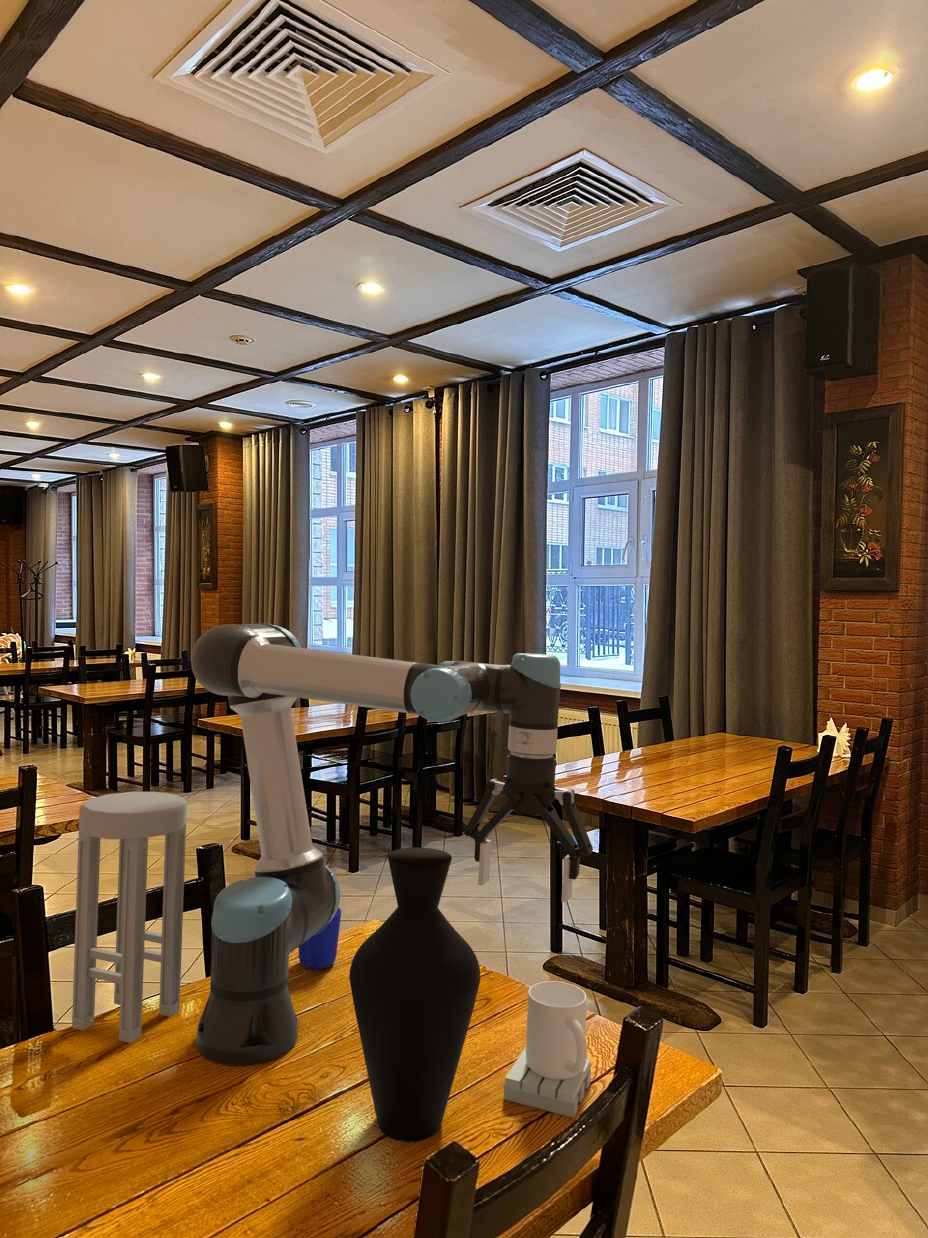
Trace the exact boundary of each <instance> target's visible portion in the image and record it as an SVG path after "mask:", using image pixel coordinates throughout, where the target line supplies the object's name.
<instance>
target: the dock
mask: <svg viewBox="0 0 928 1238" xmlns="http://www.w3.org/2000/svg"><path fill="white" fill-rule="evenodd" d="M591 1077H592V1069H591V1059H590V1058H587V1060H586V1065H585V1067H584V1069H583V1071H582V1072H581V1073H579V1074H578V1075H577V1076H575V1077H573V1078H570V1079H566V1080H552V1079H547V1078H544V1077H541V1076H539V1075H537V1074H535V1073H534V1072H533V1071H532V1070H531V1069H530V1068H529V1067H528V1065H527V1062H526V1046H525V1047H524V1048H523V1049H522V1052H521V1053H520V1054H519V1056H518V1057H517V1059H516V1061H515V1062H514V1064H513V1065H512V1067H511V1068H510V1070H509V1071H508V1072H507V1074H506V1075H505V1077H504V1085H503V1100H505V1101H508V1102H513V1103H517V1104H519V1105H520V1104H521V1105H525V1106H529V1107H532V1108H535V1109H539V1110H543V1111H546V1112H551V1113H554V1114H558V1115H561V1116H565V1117H568V1118H569V1117H570V1118H572V1119H574V1118H575V1117H576V1115H577V1113H578V1106H579V1105H578V1104H581V1103H582V1101H583V1099H584V1097H585V1090H588V1089H589V1087H590V1085H591V1082H592V1080H591V1079H592V1078H591Z"/></svg>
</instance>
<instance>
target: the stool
mask: <svg viewBox="0 0 928 1238" xmlns="http://www.w3.org/2000/svg"><path fill="white" fill-rule="evenodd" d="M187 809H188V803H187V800H186V799H185V798H184V797H182V796H180V795H177V794H175V793H174V794H173V793H167V792H160V791H126V792H118V793H117V792H116V793H115V792H114V793H108V794H103V795H100V796H95V797H91V798H88V799H87V800H86V801H85V802H84V803H83V804H81V805H80V807H79V812H78V815H79V816H78V838H77V839H78V841H77V842H78V843H77V845H78V846H77V865H76V866H77V870H76V871H77V872H76V899H75V900H76V901H75V926H74V928H75V930H74V931H75V932H74V955H73V956H74V957H73V960H74V961H73V984H72V987H73V989H72V1012H71V1013H72V1014H71V1028H72V1027H73V1026H76V1025H79V1026H76V1027H73V1028H72V1029H75V1030H77V1031H78V1030H79V1031H82V1032H83V1031H85V1030H87V1029H88V1028H90V1027H92V1026H93V1025H94V1026H95V1007H96V1004H95V1003H96V981H97V980H100V981H104V982H109V983H114V989H113V990H114V992H113V995H114V996H113V1004H115V1005H118V1006H119V1027H118V1028H119V1029H118V1030H119V1032H118V1040H119V1041H121V1042H125V1043H128V1044H132V1043H133V1042H134V1041H136V1040H138V1039H140V1037H142V1026H143V1025H142V1024H143V1023H142V1022H143V1019H142V1018H143V994H144V989H143V988H144V967H145V966H144V961H145V960H148V961H152V962H157V963H160V975H159V976H160V978H159V979H160V980H159V1005H158V1006H159V1008H158V1015H161V1016H164V1017H168V1018H170V1017H173V1016H174V1015H175V1014H177V1013H178V1012H180V1010H181V1009H180V1005H181V1004H180V1003H181V982H182V981H181V980H182V979H181V976H182V975H181V974H182V952H183V951H182V948H183V919H184V895H185V894H184V892H185V891H184V890H185V865H186V864H185V863H186V841H187V840H186V835H187V834H186V833H187ZM160 836H165V837H164V838H165V839H164V862H163V863H164V868H163V869H164V870H163V891H162V893H163V894H162V896H163V897H162V917H161V918H162V922H161V923H162V924H161V933H159V932H154V931H148V930H146V911H147V910H146V906H147V882H148V881H147V879H148V856H149V855H148V854H149V853H148V851H149V849H148V848H149V838H154V837H160ZM101 839H104V840H105V839H106V840H119V843H118V844H119V847H118V848H119V849H118V850H119V851H118V871H117V872H118V876H117V877H118V878H117V879H118V880H117V904H116V905H117V906H116V931H115V934H116V935H115V936H116V937H115V951H113V950H112V951H111V950H107V949H103V948H102V949H101V948H97V947H98V946H97V945H98V921H99V920H98V919H99V891H100V889H99V888H100V887H99V886H100V864H101V863H100V862H101V861H100V860H101ZM145 941H146V942H150V943H156V944H161V945H160V946H161V952H159V951H156V950H151V949H145ZM97 960H101V961H105V962H108V963H109V962H110V963H113V964H115V965H114V971H111V970H107V969H102V968H99V967H97ZM96 979H97V980H96ZM92 1019H94V1020H92ZM89 1020H92V1021H89Z"/></svg>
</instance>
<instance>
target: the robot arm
mask: <svg viewBox="0 0 928 1238" xmlns="http://www.w3.org/2000/svg"><path fill="white" fill-rule="evenodd" d="M190 660H191V661H190V664H191V670H192V673H193V675H194V677H195V679H196V681H197V682H198V683H199V685H200V686H201V687H203V689H205V690H206V691H208V692H210V693H212V694H215V695H218V696H227V697H228V704H229V708H230V709H231V710H233V711H234V712H235V713H237V714H238V716H239V717H240V721H241V727H242V734H243V736H242V737H243V742H244V748H245V757H246V762H247V763H246V764H247V768H248V774H249V775H248V776H249V780H250V781H249V782H250V788H251V795H252V802H253V808H254V815H255V820H256V826H257V827H256V828H257V834H258V841H259V842H258V843H259V848H260V849H259V850H260V855H261V856H260V858H259V860H258V861H257V862H256V864H255V865H254V867H253V869H254V877H249V878H248V879H246V880H244V879H240V880H238V881H235V882H232V883H230V884H229V885H227V886H225V887H224V888H223V889H222V890H221V891H220V892H219V893H218V894H217V896H216V898H215V900H214V904H213V911H212V915H211V922H210V924H211V952H210V953H211V955H210V956H211V957H210V959H211V960H210V989H209V995H208V996H207V1000H206V1003H205V1006H204V1009H203V1011H202V1013H201V1016H200V1019H199V1021H198V1024H197V1029H196V1041H195V1044H196V1045H195V1046H196V1050H197V1051H198V1053H199V1054H200V1055H201V1056H202V1057H203V1058H205V1059H206V1060H209V1061H211V1062H214V1063H216V1064H220V1065H221V1064H222V1065H228V1066H248V1065H256V1064H261V1063H266V1062H268V1061H271V1060H274V1059H276V1058H278V1057H281V1056H283V1055H285V1054H286V1053H287V1052H289V1051H290V1050H291V1049H292V1048H294V1045H295V1044H297V1043H296V1042H297V1041H298V1033H299V1032H298V1029H299V1024H298V1017H297V1015H296V1014H295V1013H296V1012H295V1009H294V1005H293V1001H292V997H291V994H290V991H289V986H288V985H289V983H288V982H289V967H290V966H289V965H290V963H289V961H290V953H291V954H292V952H294V951H295V950H297V948H298V947H299V946H300V945H302V944H303V943H304V942H306V941H307V940H309V939H310V938H311V937H313V936H315V935H317V934H318V933H320V932H321V931H322V930H323V929H324V928H325V927H326V925H327V924H328V923H329V922H330V921H331V920H332V919H333V917H334V916H335V914H336V912H337V910H338V907H339V906H340V902H341V887H340V883H339V880H338V878H337V876H336V874H335V872H334V871H332V870H330V869H329V866H328V865H327V864H326V863H325V859H324V854H323V852H322V851H320V849H318V848H317V847H316V846H314V844H313V840H312V834H311V828H310V822H309V815H308V808H307V803H306V796H305V789H304V784H303V777H302V770H301V764H300V757H299V752H298V751H299V750H298V744H297V737H296V732H295V731H296V730H295V724H294V718H293V710H292V706H293V705H294V703H295V702H296V700H297V699H298V698H300V699H306V700H313V701H320V702H325V703H336V704H341V705H348V706H349V705H350V706H357V707H364V708H371V709H378V710H383V711H384V710H385V711H391V712H398V713H405V714H406V713H407V714H412V715H415V716H420V717H421V718H423V719H425V720H427V721H430V722H436V723H437V722H442V723H443V722H444V723H446V722H451V721H454V720H456V719H458V718H460V717H461V716H464V715H468V714H470V713H474V712H488V713H489V712H490V713H500V714H508V715H509V722H508V741H507V750H509V752H510V753H508V755H507V756H506V757H507V758H506V773H505V777H506V779H505V782H502V781H499V780H498V779H497V778H493V779H490V780H488V781H486V783H485V788H484V795H483V796H482V798H481V800H480V802H479V804H478V805H477V807H476V809H475V811H474V813H473V814H472V816H471V818H470V820H469V822H468V823H467V825H466V826H465V828H464V831H463V834H464V836H465V837H470V838H471V839H473V840H474V862H476V863H477V862H478V865H479V867H478V879H477V880H478V882H477V885H478V886H484V885H485V884H486V883H488V882H489V881H490V874H491V872H490V871H491V870H490V869H491V852H492V840H491V839H486V838H489V835H490V834H492V832H494V831H495V829H496V828H498V826H499V825H500V824H502V822H503V821H504V820H505V819H506V818H507V817H508V816H509V815H510V814H511V813H512V812H515V813H516V814H517V815H529V816H530V817H538V816H540V817H541V819H542V820H543V821H544V822H545V823H546V824H547V825H548V827H549V828H550V829H551V831H552V833H553V834H554V836H555V837H556V839H557V840H558V841H559V843H560V845H561V846H562V847H563V849H564V851H565V852H566V853H567V855H566V856H564V857H563V865H562V867H563V869H562V887H561V888H562V889H561V902H563V903H567V902H568V901H569V900H570V899H571V898H572V895H573V894H572V893H573V880H576V879H578V877H579V875H580V867H581V866H580V864H581V863H580V862H581V857H588V856H589V855H590V854H591V853H592V852H593V850H594V847H593V844H592V842H591V840H590V837H589V835H588V832H587V830H586V827H585V825H584V822H583V820H582V816H581V814H580V813H579V809H578V808H577V805H576V793H575V790H574V789H573V788H572V789H571V788H569V789H568V790H557V789H556V785H555V782H556V780H555V779H556V766H557V765H556V762H557V759H556V758H555V756H554V755H555V754H556V753H557V748H558V747H557V746H558V726H559V724H558V723H559V708H560V698H561V697H560V694H561V688H562V684H561V662H560V659H559V658H558V657H557V656H555V655H553V654H552V655H551V654H545V653H529V652H528V653H527V652H525V653H523V652H522V653H521V652H520V653H515V654H514V655H513V656H512V662H510V664H492V663H486V662H485V663H484V662H481V663H480V662H473V661H472V662H471V661H466V660H452V661H451V660H446V661H445V660H444V661H442V662H441V663H439V664H433V663H431V664H430V663H422V662H421V663H420V662H415V661H414V662H413V661H406V660H397V659H392V658H384V657H383V658H382V657H375V656H367V655H366V656H365V655H359V654H351V653H350V654H349V653H342V652H336V651H326V650H319V649H311V648H304V647H302V646H301V643H300V642H299V640H298V638H296V636H295V635H294V634H293V633H292V632H290V631H289V630H287V629H286V628H284V627H282V626H280V625H275V624H270V623H265V622H262V623H246V624H245V623H243V624H242V623H240V624H239V623H238V624H237V623H236V624H235V623H226V624H220V625H217V626H214V627H212V628H210V629H208V630H207V631H205V632H204V633H203V634H202V635H201V636H200V637H199V638H198V639H197V641H196V643H195V644H194V646H193V649H192V652H191V659H190ZM501 792H503V794H504V796H505V798H506V799H507V802H506V803H504V805H503V806H502V807H501V808H500V809H499V810H498V811H497V812H496V813H495V815H493V816H492V817H491V819H489V821H487V823H486V824H484V826H483V827H482V828H481V829H479V827H480V826H481V824H482V822H483V820H484V819H485V817H486V814H487V813H488V811H489V809H490V808H491V807H492V804H493V803H494V801H495V799H496V797H497V796H498V795H500V794H501ZM555 800H558V801H559V804H560V805H561V806H562V808H563V811H564V814H565V816H566V820H567V822H568V824H569V826H570V830H571V832H572V834H573V836H574V837H573V836H572V834H571V833H570V831H569V829H568V828H567V827H566V825H565V823H563V820H562V819H561V817H559V815H558V812H557V809H555V807H554V805H553V804H552V803H554V801H555ZM339 908H340V907H339Z"/></svg>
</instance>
